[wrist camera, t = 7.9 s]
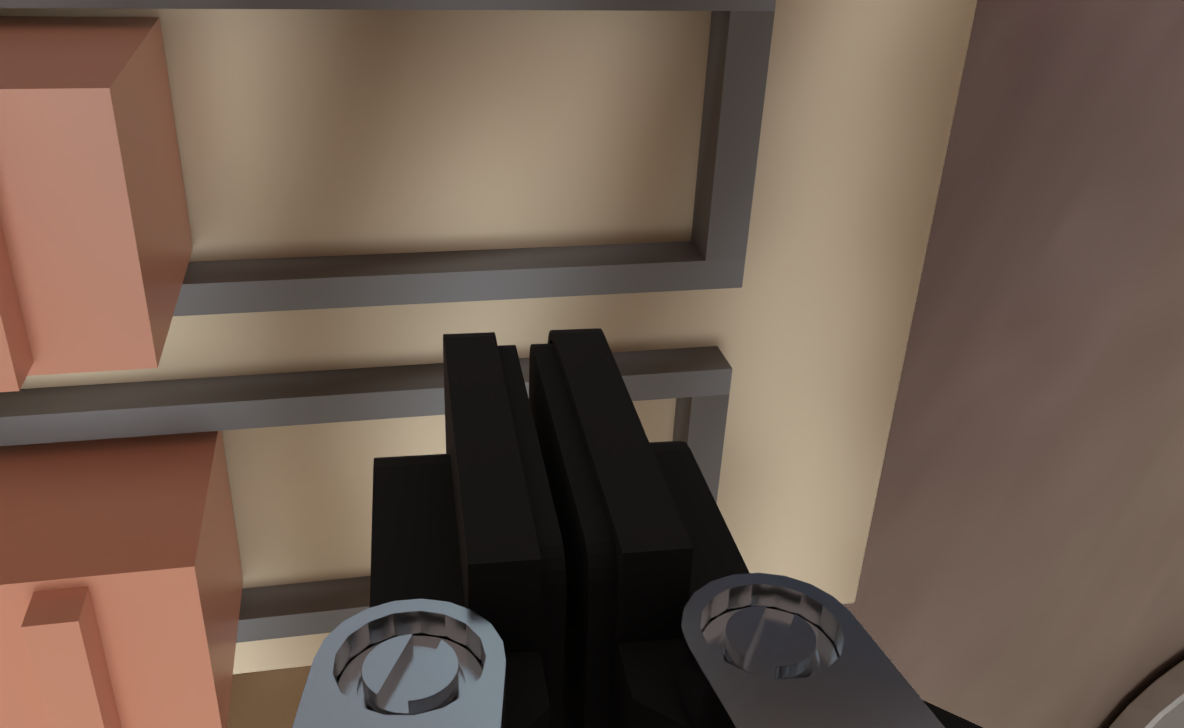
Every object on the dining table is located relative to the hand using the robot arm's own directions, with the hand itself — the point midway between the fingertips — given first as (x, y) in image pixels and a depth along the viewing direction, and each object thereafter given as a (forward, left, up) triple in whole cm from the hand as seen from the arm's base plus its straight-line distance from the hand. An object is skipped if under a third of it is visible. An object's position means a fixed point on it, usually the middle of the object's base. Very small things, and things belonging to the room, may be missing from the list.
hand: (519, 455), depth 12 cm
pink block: (+7, -1, -9) cm, 11 cm away
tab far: (+6, +7, -9) cm, 13 cm away
